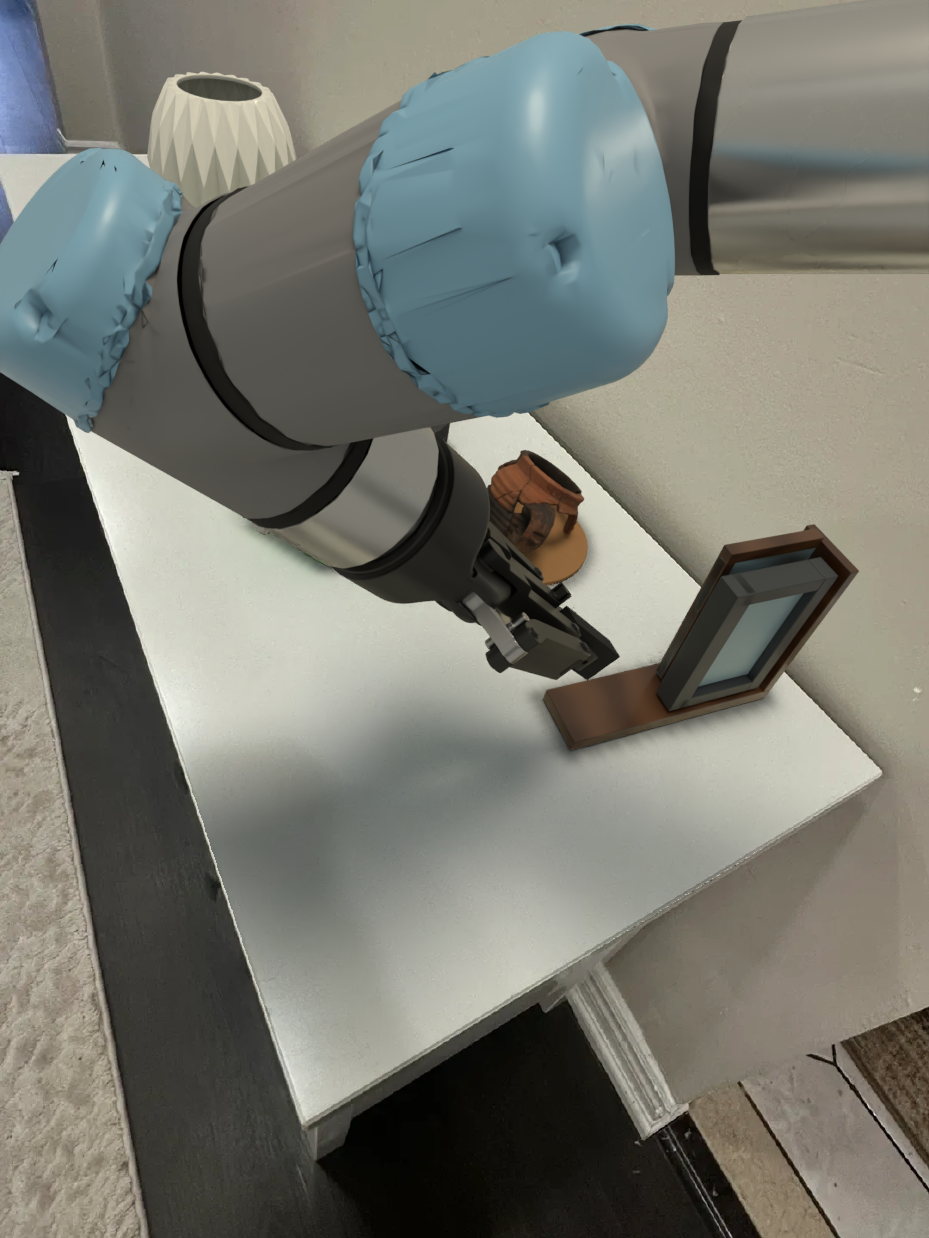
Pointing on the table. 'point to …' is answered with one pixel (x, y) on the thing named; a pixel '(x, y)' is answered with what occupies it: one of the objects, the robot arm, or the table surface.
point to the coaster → (559, 550)
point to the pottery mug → (531, 500)
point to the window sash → (744, 631)
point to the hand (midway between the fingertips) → (598, 660)
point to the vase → (217, 134)
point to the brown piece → (632, 694)
